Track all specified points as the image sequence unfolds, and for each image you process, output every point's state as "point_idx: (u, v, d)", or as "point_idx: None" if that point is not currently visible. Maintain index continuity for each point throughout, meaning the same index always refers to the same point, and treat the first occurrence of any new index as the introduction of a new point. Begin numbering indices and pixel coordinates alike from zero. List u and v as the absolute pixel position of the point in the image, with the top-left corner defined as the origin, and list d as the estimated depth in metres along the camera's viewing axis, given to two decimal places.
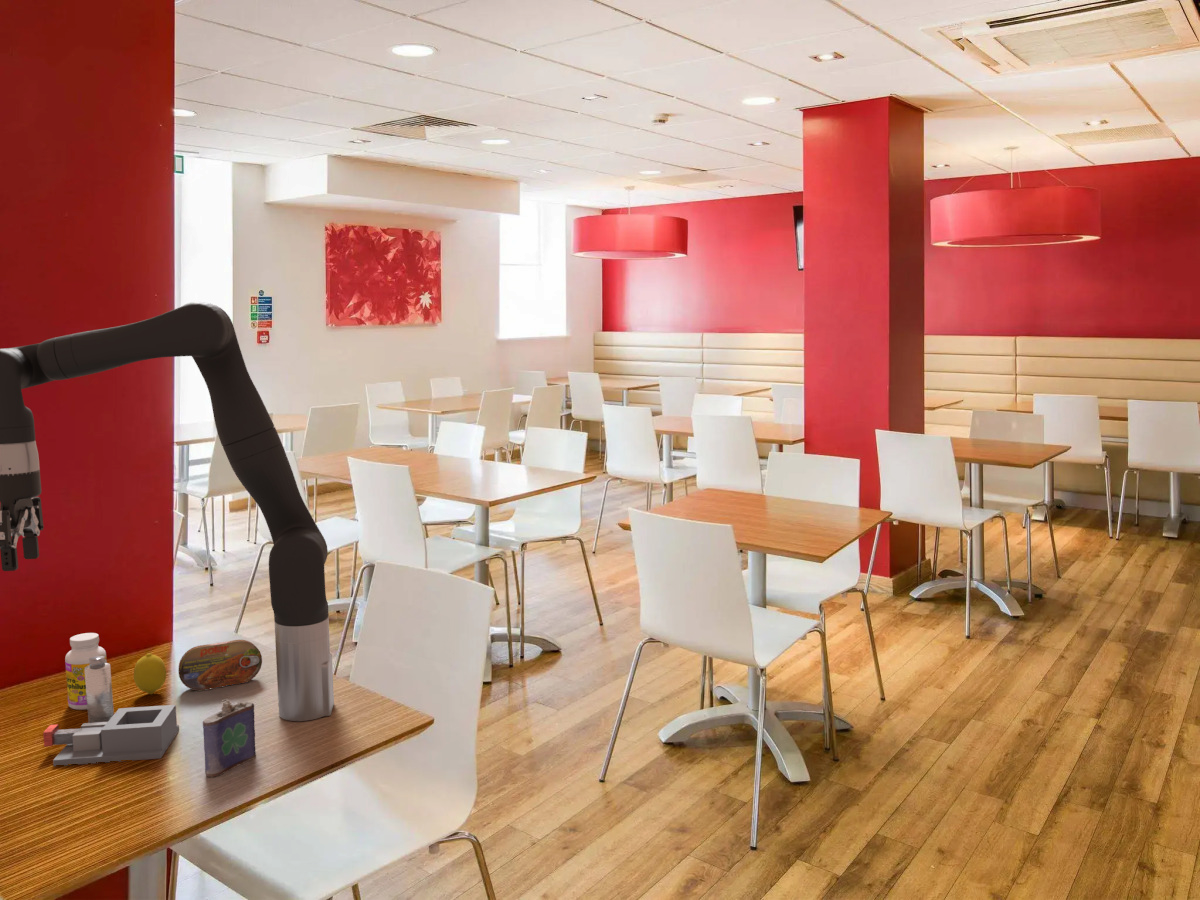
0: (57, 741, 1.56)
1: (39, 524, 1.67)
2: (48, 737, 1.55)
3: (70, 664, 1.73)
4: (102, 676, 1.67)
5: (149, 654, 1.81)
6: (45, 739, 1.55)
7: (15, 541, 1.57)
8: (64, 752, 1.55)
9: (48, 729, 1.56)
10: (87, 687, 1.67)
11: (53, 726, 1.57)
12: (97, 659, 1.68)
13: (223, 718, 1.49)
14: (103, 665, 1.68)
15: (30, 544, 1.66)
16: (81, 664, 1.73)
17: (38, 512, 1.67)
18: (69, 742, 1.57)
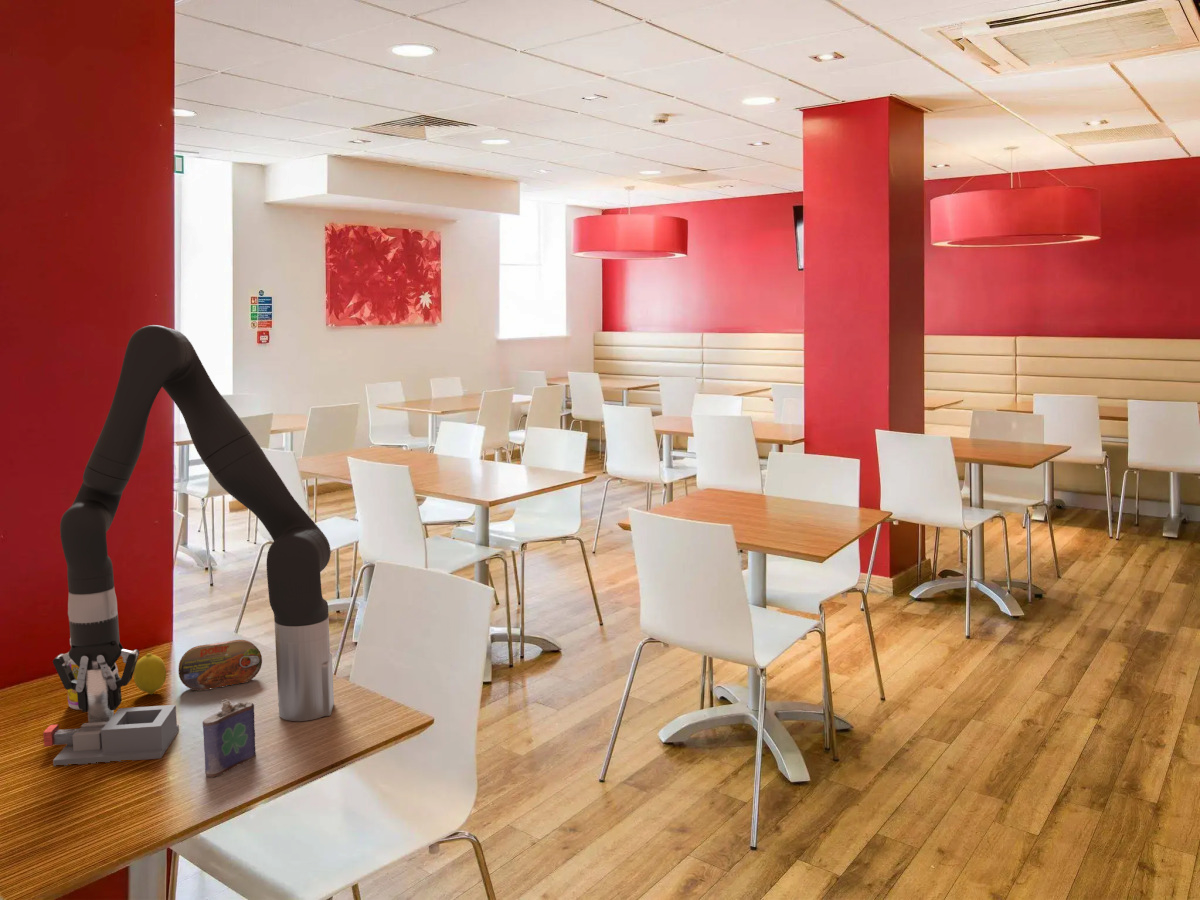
0: (57, 741, 1.56)
1: (74, 677, 1.69)
2: (48, 737, 1.55)
3: (70, 664, 1.73)
4: (102, 676, 1.67)
5: (149, 654, 1.81)
6: (45, 739, 1.55)
7: None
8: (64, 752, 1.55)
9: (48, 729, 1.56)
10: (87, 687, 1.67)
11: (53, 726, 1.57)
12: None
13: (223, 718, 1.49)
14: None
15: None
16: None
17: (69, 666, 1.68)
18: (69, 742, 1.57)
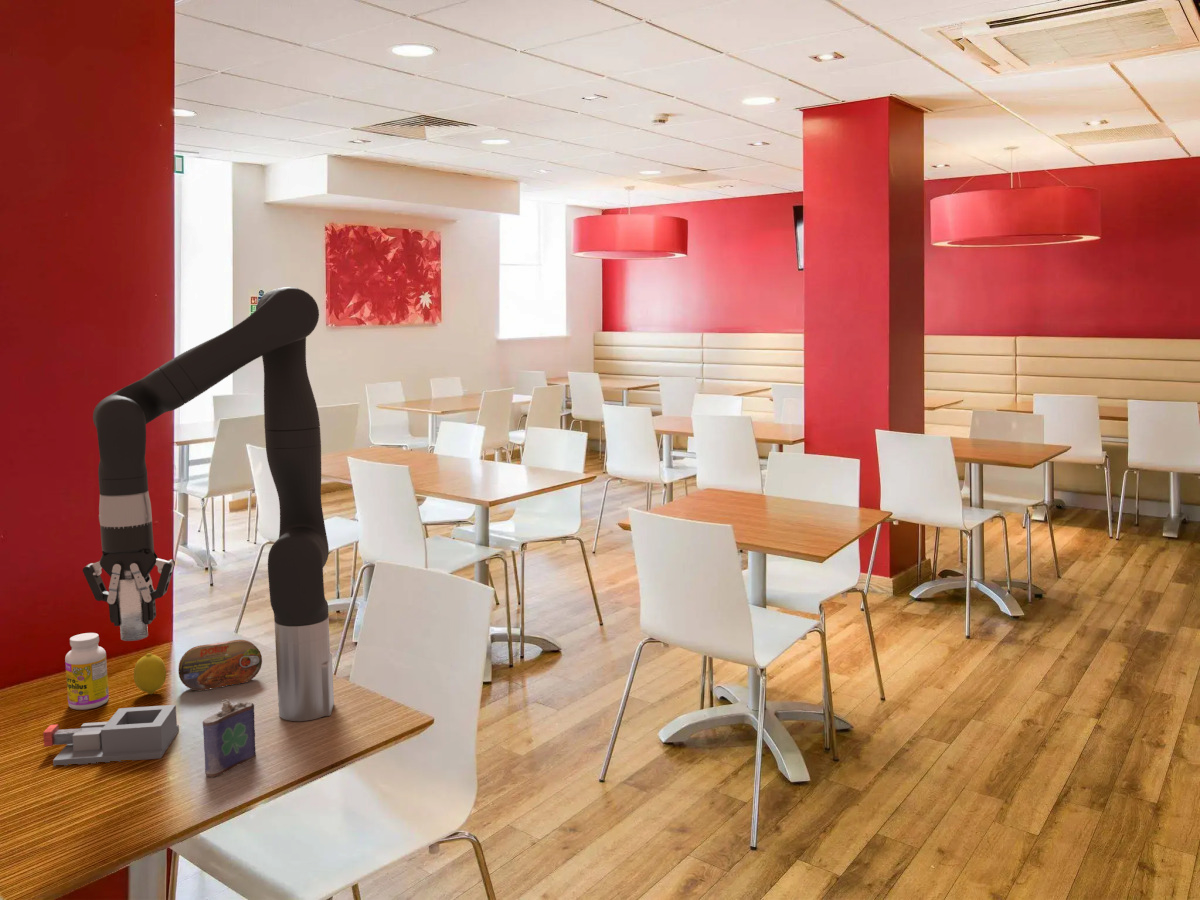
0: (57, 741, 1.56)
1: (105, 588, 1.56)
2: (48, 737, 1.55)
3: (70, 664, 1.73)
4: (135, 586, 1.55)
5: (149, 654, 1.81)
6: (45, 739, 1.55)
7: (151, 591, 1.58)
8: (64, 752, 1.55)
9: (48, 729, 1.56)
10: (119, 598, 1.55)
11: (53, 726, 1.57)
12: None
13: (223, 718, 1.49)
14: None
15: None
16: (81, 664, 1.73)
17: (100, 577, 1.56)
18: (69, 742, 1.57)
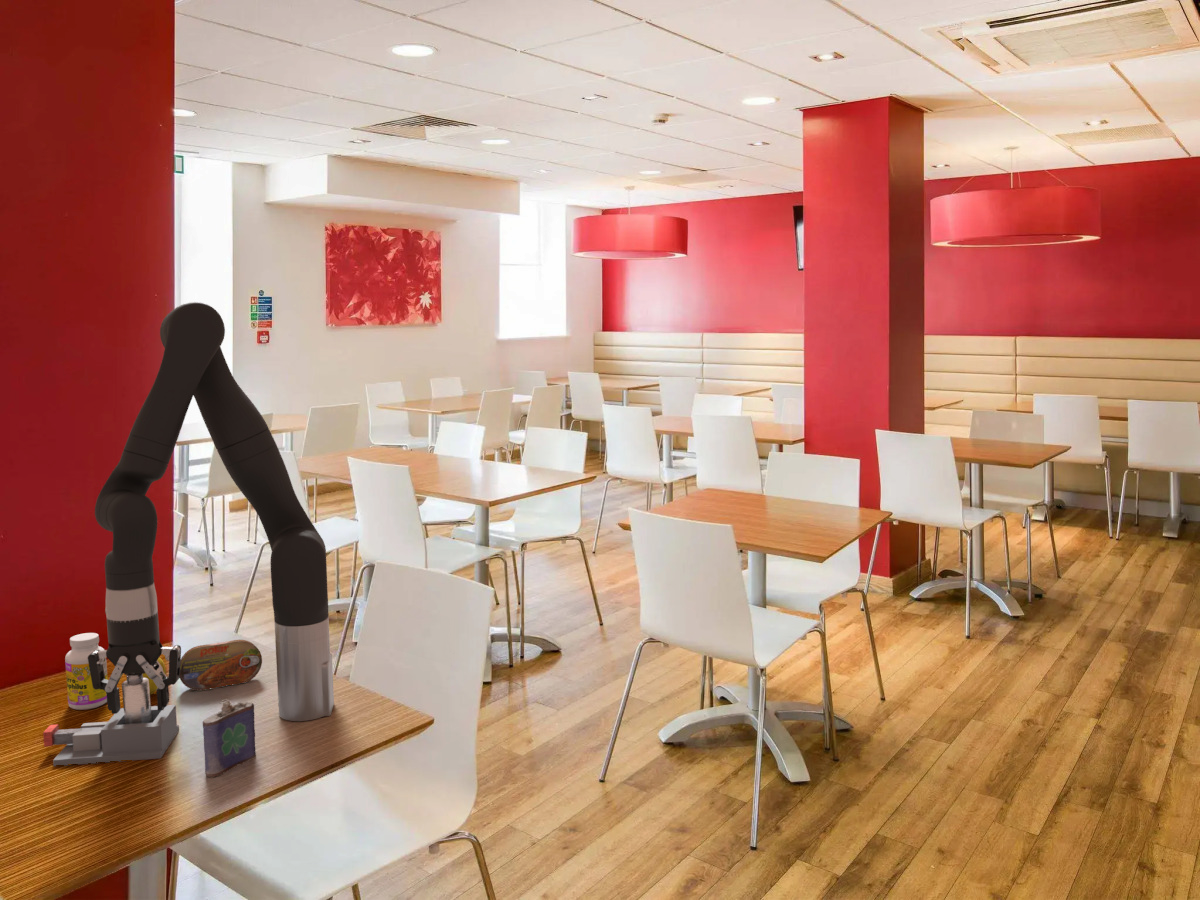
0: (57, 741, 1.56)
1: (104, 676, 1.58)
2: (48, 737, 1.55)
3: (70, 664, 1.73)
4: (140, 692, 1.57)
5: None
6: (45, 739, 1.55)
7: None
8: (64, 752, 1.55)
9: (48, 729, 1.56)
10: (125, 704, 1.57)
11: (53, 726, 1.57)
12: (135, 674, 1.57)
13: (223, 718, 1.49)
14: (141, 680, 1.58)
15: (117, 696, 1.58)
16: (81, 664, 1.73)
17: (102, 664, 1.58)
18: (69, 742, 1.57)
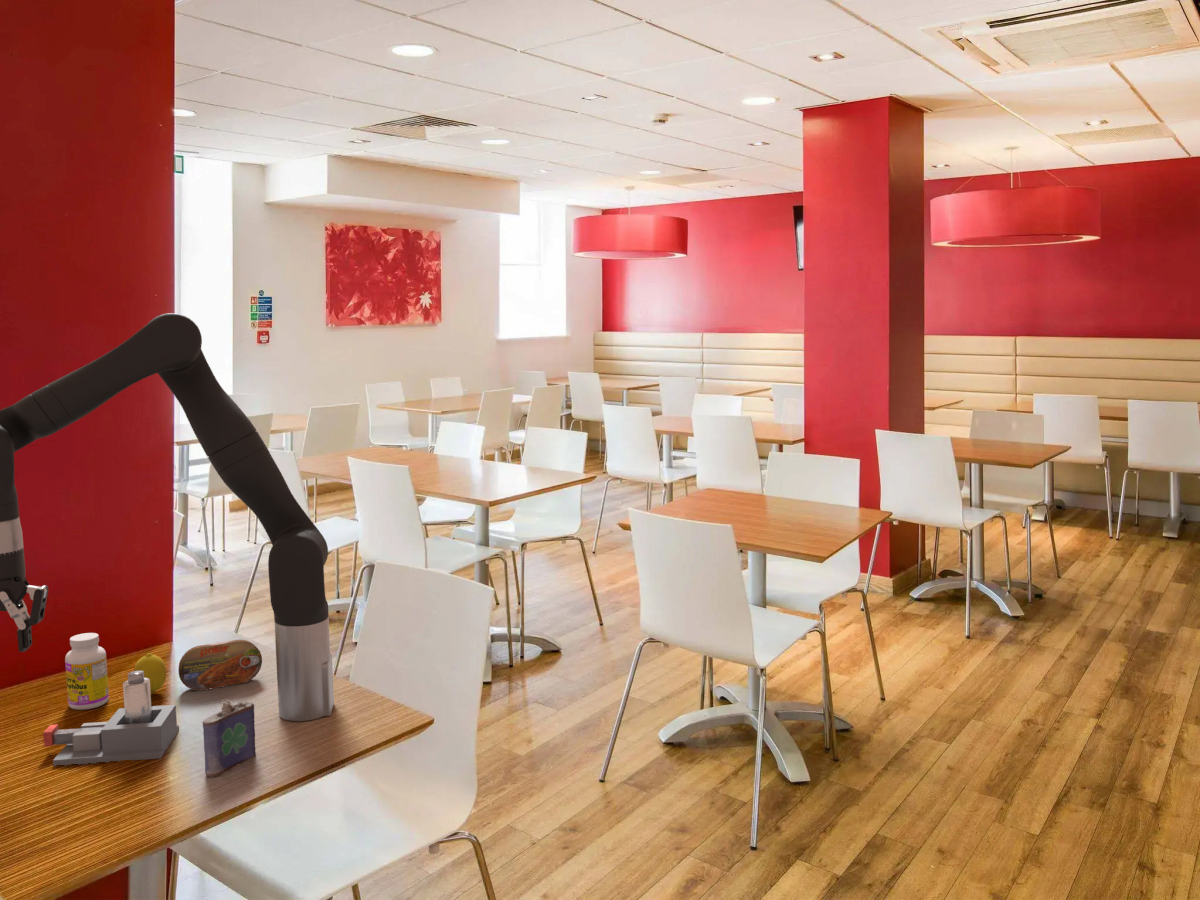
0: (57, 741, 1.56)
1: None
2: (48, 737, 1.55)
3: (70, 664, 1.73)
4: (141, 692, 1.57)
5: (149, 654, 1.81)
6: (45, 739, 1.55)
7: (26, 618, 1.55)
8: (64, 752, 1.55)
9: (48, 729, 1.56)
10: (126, 704, 1.57)
11: (53, 726, 1.57)
12: (136, 674, 1.57)
13: (223, 718, 1.49)
14: (142, 680, 1.58)
15: None
16: (81, 664, 1.73)
17: None
18: (69, 742, 1.57)
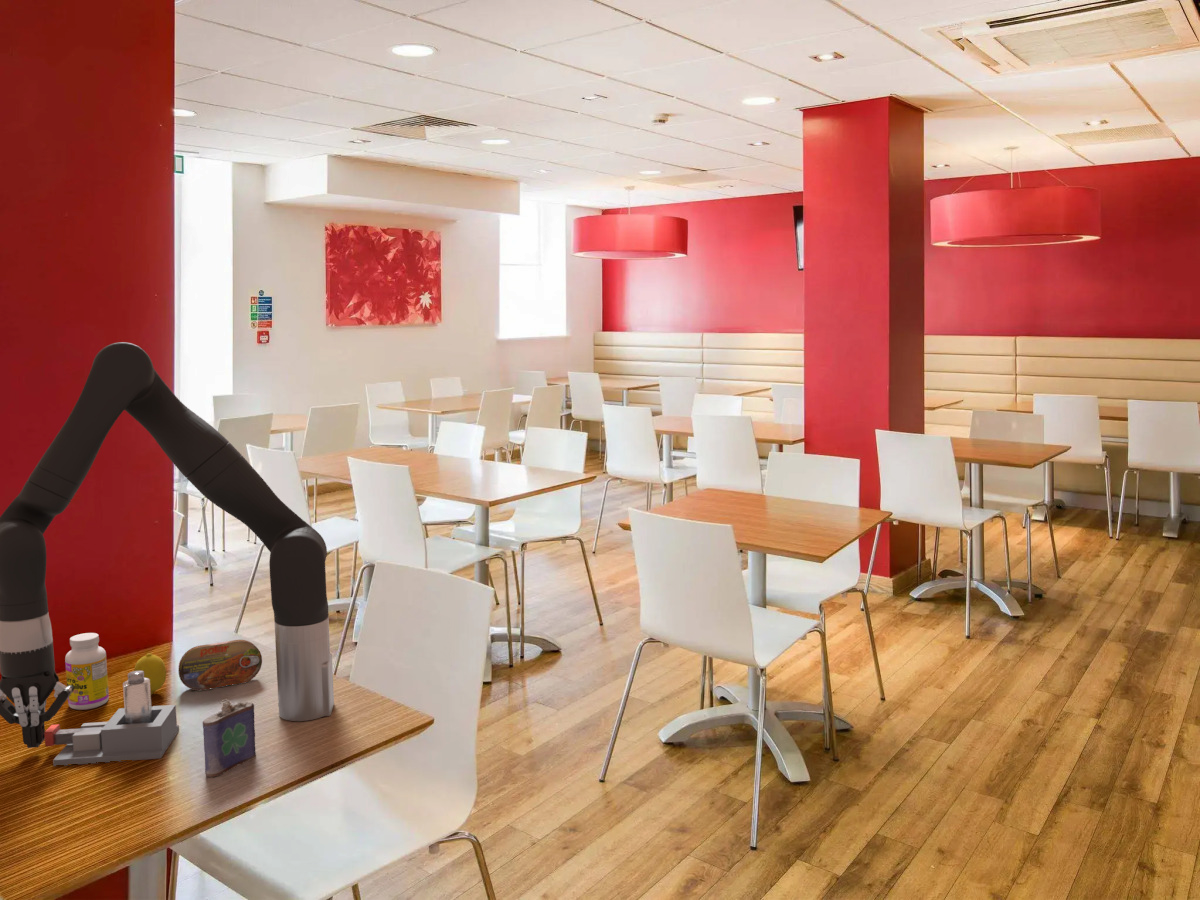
0: (58, 741, 1.56)
1: None
2: (49, 737, 1.55)
3: (70, 664, 1.73)
4: (141, 692, 1.57)
5: (149, 654, 1.81)
6: (46, 739, 1.55)
7: None
8: (64, 752, 1.55)
9: (49, 729, 1.56)
10: (126, 704, 1.57)
11: (54, 726, 1.57)
12: (136, 674, 1.57)
13: (223, 718, 1.49)
14: (142, 680, 1.58)
15: None
16: (81, 664, 1.73)
17: (7, 700, 1.56)
18: (70, 742, 1.57)
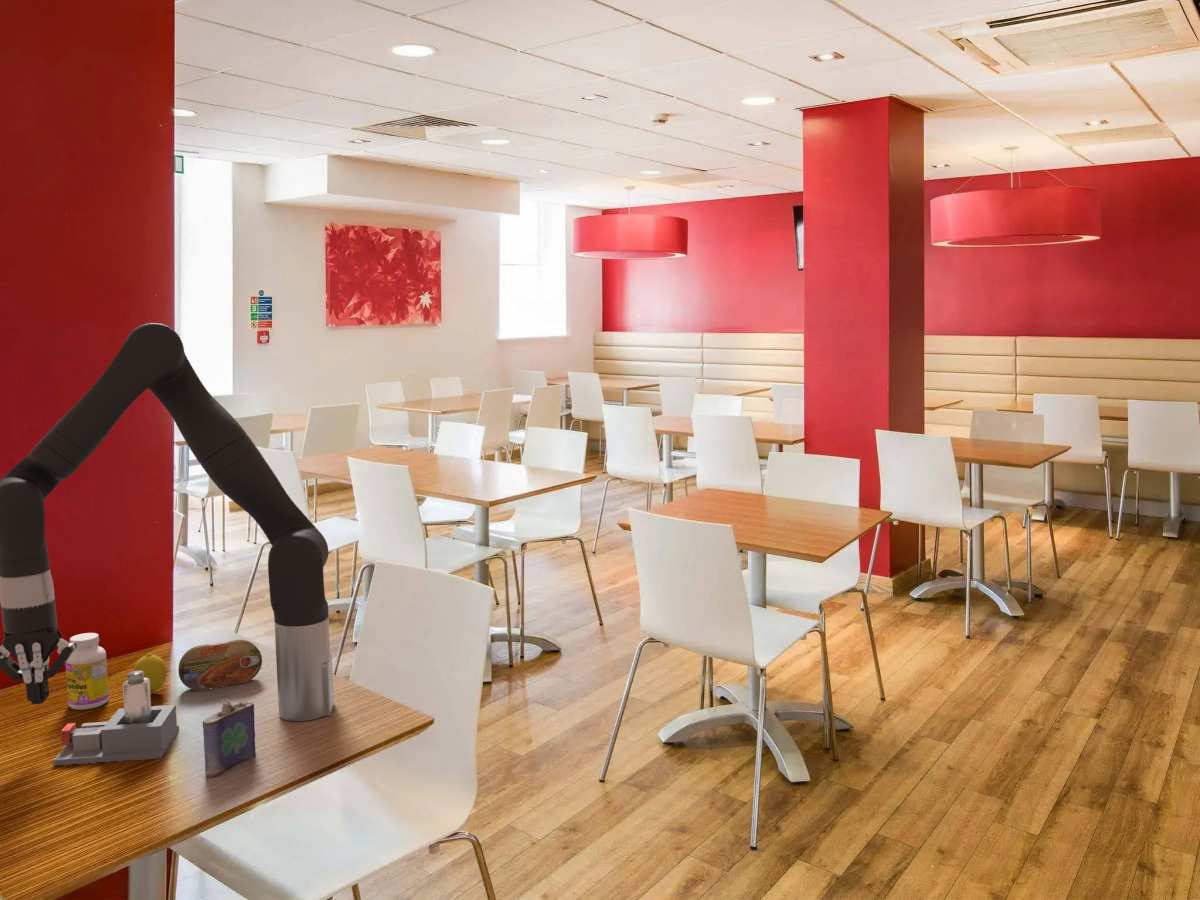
0: None
1: None
2: (66, 736, 1.56)
3: (70, 664, 1.73)
4: (141, 692, 1.57)
5: (149, 654, 1.81)
6: (63, 738, 1.56)
7: (44, 670, 1.59)
8: (64, 752, 1.55)
9: (66, 728, 1.57)
10: (125, 704, 1.57)
11: (70, 725, 1.58)
12: (136, 674, 1.57)
13: (223, 718, 1.49)
14: (142, 680, 1.58)
15: None
16: (81, 664, 1.73)
17: (10, 658, 1.57)
18: None
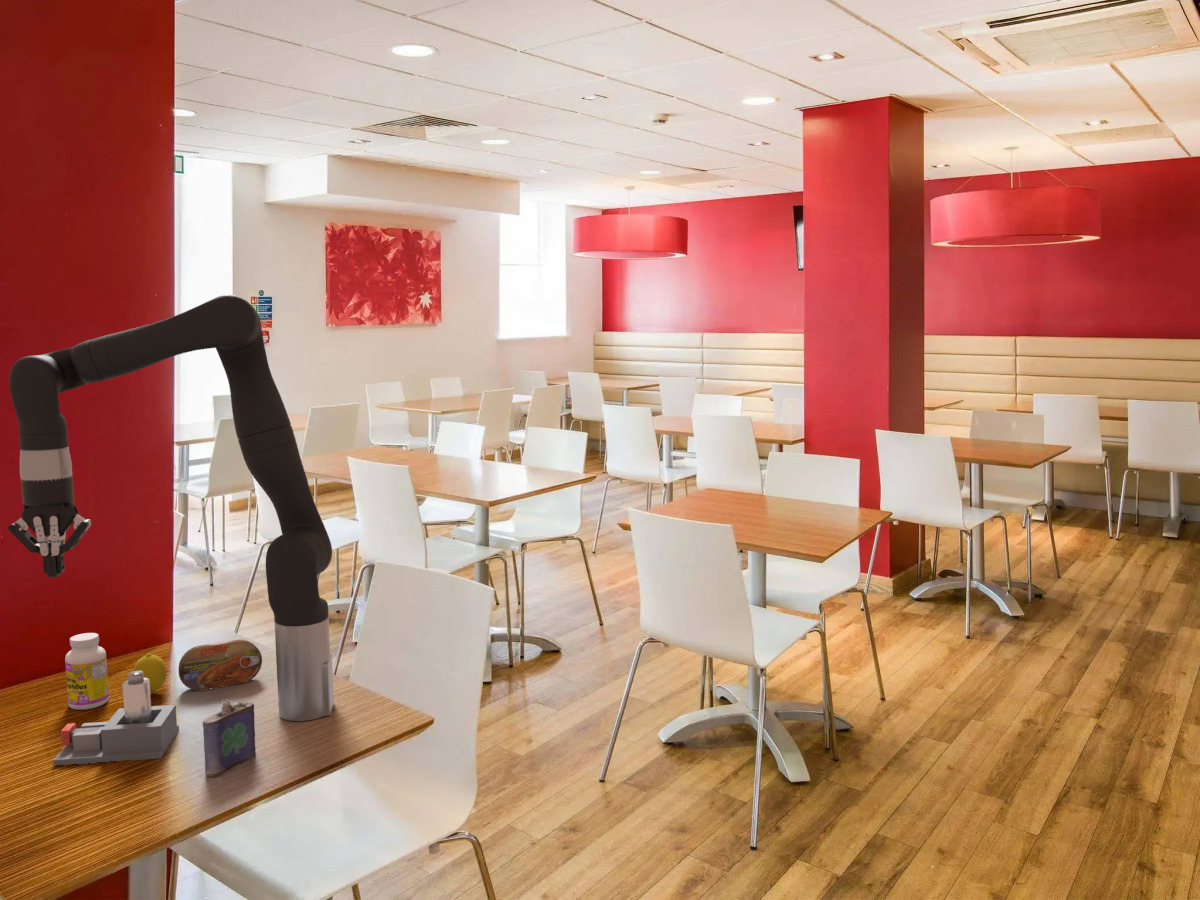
0: None
1: (38, 541, 1.63)
2: (66, 736, 1.56)
3: (70, 664, 1.73)
4: (141, 692, 1.57)
5: (149, 654, 1.81)
6: (63, 738, 1.56)
7: (61, 545, 1.64)
8: (64, 752, 1.55)
9: (66, 728, 1.57)
10: (125, 704, 1.57)
11: (70, 725, 1.58)
12: (136, 674, 1.57)
13: (223, 718, 1.49)
14: (142, 680, 1.58)
15: None
16: (81, 664, 1.73)
17: (29, 532, 1.63)
18: None
